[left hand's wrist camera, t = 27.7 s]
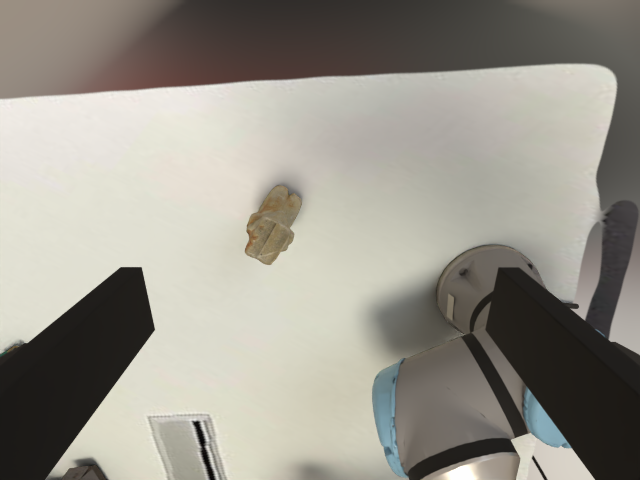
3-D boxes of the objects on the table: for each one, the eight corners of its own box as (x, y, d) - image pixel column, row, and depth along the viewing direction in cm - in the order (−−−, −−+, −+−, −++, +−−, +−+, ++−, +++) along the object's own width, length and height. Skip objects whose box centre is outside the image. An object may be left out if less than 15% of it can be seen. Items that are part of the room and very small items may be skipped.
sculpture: (309, 201, 49) (305, 239, 35) (281, 239, 51) (267, 289, 37) (275, 177, 48) (257, 207, 34) (248, 217, 50) (220, 260, 36)
